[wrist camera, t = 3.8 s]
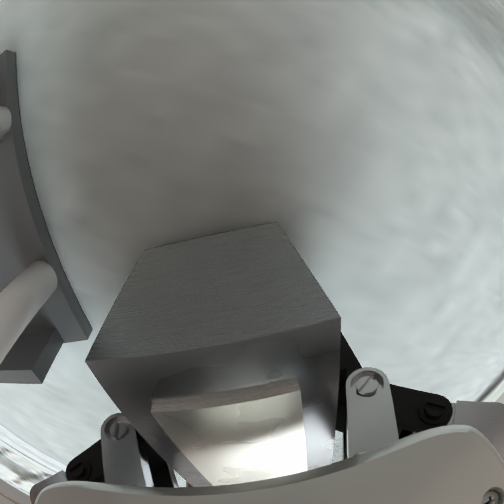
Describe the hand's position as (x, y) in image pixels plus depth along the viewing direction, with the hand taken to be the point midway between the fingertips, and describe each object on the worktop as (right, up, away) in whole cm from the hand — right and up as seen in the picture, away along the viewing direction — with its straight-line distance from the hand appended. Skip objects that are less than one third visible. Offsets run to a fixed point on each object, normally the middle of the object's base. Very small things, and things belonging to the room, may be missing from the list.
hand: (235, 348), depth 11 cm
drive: (0, 0, +1) cm, 1 cm away
